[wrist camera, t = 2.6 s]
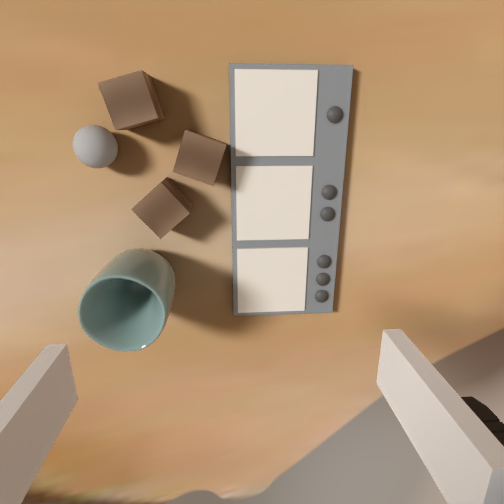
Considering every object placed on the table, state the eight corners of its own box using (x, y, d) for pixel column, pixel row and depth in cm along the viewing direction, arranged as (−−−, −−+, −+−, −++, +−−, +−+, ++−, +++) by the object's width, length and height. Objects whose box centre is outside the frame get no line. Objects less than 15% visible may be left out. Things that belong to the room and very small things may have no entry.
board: (229, 65, 35) (229, 62, 34) (349, 66, 35) (354, 64, 34) (233, 311, 44) (233, 316, 42) (330, 308, 44) (332, 313, 43)
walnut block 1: (111, 87, 35) (97, 83, 31) (150, 76, 35) (141, 70, 31) (127, 129, 36) (115, 130, 32) (164, 118, 36) (157, 117, 32)
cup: (190, 257, 41) (180, 296, 32) (164, 312, 43) (147, 364, 34) (125, 228, 39) (94, 260, 30) (101, 286, 41) (64, 334, 32)
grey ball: (79, 124, 36) (61, 124, 32) (120, 125, 36) (107, 124, 32) (85, 166, 37) (69, 170, 33) (124, 165, 37) (113, 170, 33)
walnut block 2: (140, 201, 39) (131, 209, 35) (167, 176, 38) (160, 182, 34) (166, 228, 40) (160, 238, 36) (193, 205, 39) (189, 213, 35)
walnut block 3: (189, 129, 36) (185, 129, 33) (226, 143, 37) (226, 145, 33) (178, 167, 38) (172, 171, 34) (214, 180, 38) (213, 185, 35)
